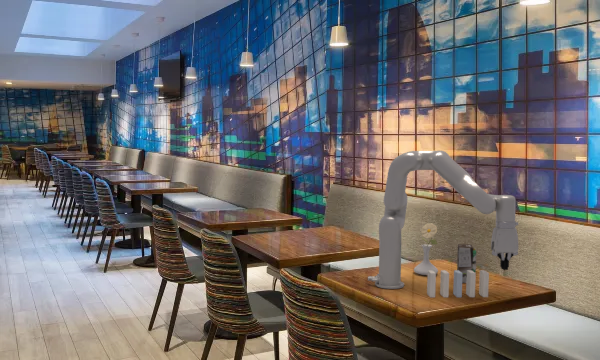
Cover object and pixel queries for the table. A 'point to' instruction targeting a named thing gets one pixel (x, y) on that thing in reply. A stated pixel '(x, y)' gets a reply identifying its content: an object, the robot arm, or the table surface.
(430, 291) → the domino
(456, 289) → the domino
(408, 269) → the table surface
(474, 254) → the beverage can
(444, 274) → the domino
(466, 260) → the coffee box
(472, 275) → the domino
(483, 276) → the domino
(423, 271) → the flower in vase
